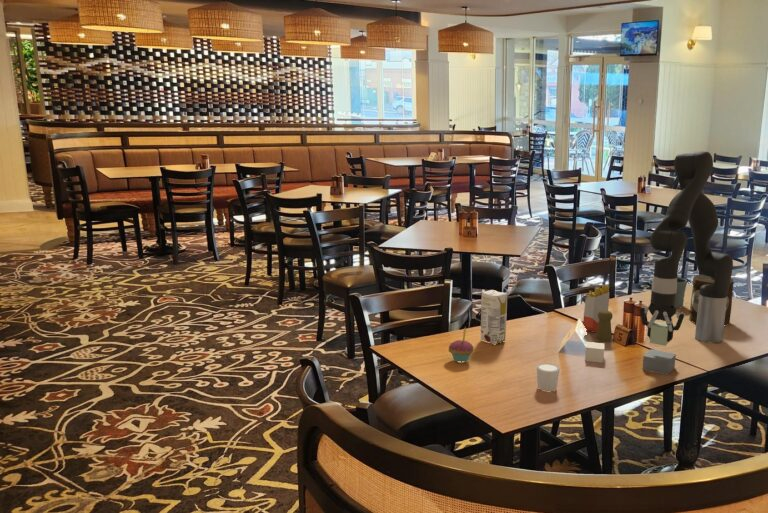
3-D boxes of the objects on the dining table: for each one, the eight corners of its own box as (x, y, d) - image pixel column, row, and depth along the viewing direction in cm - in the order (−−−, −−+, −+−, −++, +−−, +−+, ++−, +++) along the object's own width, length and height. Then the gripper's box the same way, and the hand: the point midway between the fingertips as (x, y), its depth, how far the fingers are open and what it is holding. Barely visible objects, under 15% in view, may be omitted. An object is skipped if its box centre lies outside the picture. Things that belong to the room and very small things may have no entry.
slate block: (649, 362, 219) (650, 349, 218) (674, 368, 214) (675, 354, 213) (642, 370, 213) (643, 355, 212) (667, 375, 208) (668, 361, 207)
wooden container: (686, 323, 259) (692, 270, 255) (691, 313, 272) (696, 263, 267) (728, 329, 252) (734, 275, 247) (730, 319, 264) (736, 267, 259)
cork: (613, 342, 238) (615, 314, 236) (596, 341, 240) (598, 313, 237) (610, 336, 244) (612, 309, 242) (594, 336, 245) (596, 308, 243)
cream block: (585, 355, 226) (586, 341, 225) (603, 357, 224) (604, 343, 223) (584, 361, 221) (585, 347, 220) (603, 363, 219) (604, 349, 218)
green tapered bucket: (663, 308, 280) (665, 281, 277) (657, 301, 290) (659, 276, 287) (687, 309, 278) (690, 282, 276) (681, 302, 288) (683, 276, 286)
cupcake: (459, 354, 227) (459, 322, 225) (478, 360, 222) (479, 327, 219) (443, 360, 222) (443, 327, 219) (462, 367, 216) (463, 333, 213)
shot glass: (532, 384, 202) (533, 363, 200) (553, 383, 202) (555, 362, 201) (539, 393, 195) (540, 372, 193) (561, 392, 196) (562, 371, 194)
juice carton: (495, 346, 235) (497, 296, 231) (477, 340, 241) (478, 292, 237) (508, 341, 240) (510, 293, 236) (490, 336, 246) (491, 288, 242)
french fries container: (581, 331, 251) (584, 287, 247) (596, 325, 258) (599, 282, 254) (592, 334, 247) (595, 289, 243) (607, 328, 254) (610, 284, 250)
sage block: (653, 338, 215) (654, 321, 214) (668, 341, 213) (670, 324, 211) (649, 342, 211) (651, 325, 210) (665, 345, 209) (667, 328, 207)
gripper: (690, 290, 207) (685, 340, 211) (643, 284, 215) (639, 332, 219) (685, 295, 201) (680, 347, 205) (638, 289, 209) (634, 338, 213)
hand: (659, 339), depth 212 cm, fingers closed on sage block, 5 cm apart
